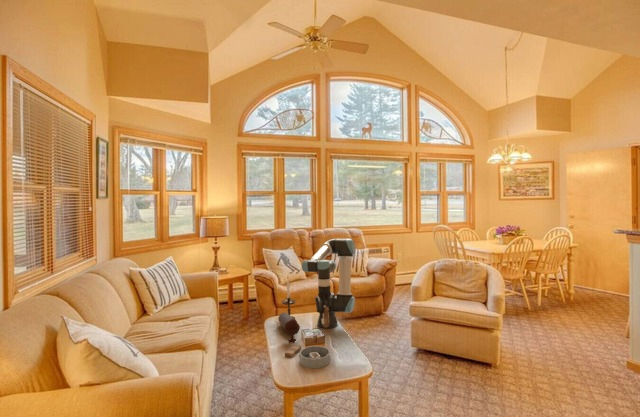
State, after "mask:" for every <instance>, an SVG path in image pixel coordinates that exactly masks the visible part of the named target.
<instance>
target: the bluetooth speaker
mask: <svg viewBox="0 0 640 417" xmlns="http://www.w3.org/2000/svg"><path fill="white" fill-rule="evenodd" d="M291 319H292V317H291V314H290V315H288V312H281V313H280V314H279V315H278V322H279V324H280V326H281V327H282V329H284V326H285V324H286V322H287V321H290V320H291Z"/></svg>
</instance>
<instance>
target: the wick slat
mask: <svg viewBox="0 0 640 417" xmlns="http://www.w3.org/2000/svg"><path fill="white" fill-rule="evenodd" d="M323 313H324V324H322V325H323V326H324V327H329V310H328V307H327V306H326V305H324V306H323Z"/></svg>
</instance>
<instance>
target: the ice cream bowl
mask: <svg viewBox="0 0 640 417" xmlns="http://www.w3.org/2000/svg"><path fill="white" fill-rule="evenodd" d="M300 329H301V326H300V324H299V323H298V321H297V320H296V318H295V319H291V320H290V321H287V322H286V324H285V326H284V328H283V330H284V332H285V333H286V334H287V335H288V336H290V338H289V339H288V341H289V342H288V343H290V342H293V343H296V342H297V341H296V340H297V338H294V336H295V335H297V334H298V333H299V331H300ZM295 341H296V342H295Z"/></svg>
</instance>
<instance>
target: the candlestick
mask: <svg viewBox="0 0 640 417" xmlns="http://www.w3.org/2000/svg"><path fill="white" fill-rule="evenodd" d="M286 290H287V291H286V292H287V293H286V295H287V297H286V298H285V299H283V300H282V301H281V304H282V305H284V306H287V314H288V315H290V316H291V314H292V312H291V311H292V310H291V305H294V304H296V300H295V299H293V298H292V297H291V294H290V292H291V291H290V290H291V289H290V280H289V276H287V280H286ZM291 317H292V319H295V320H296V317H295V316H293V315H292V316H291Z"/></svg>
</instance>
